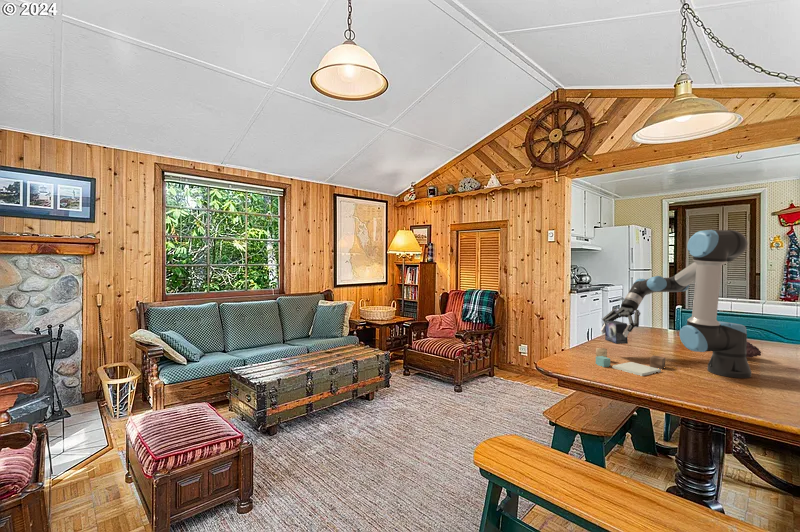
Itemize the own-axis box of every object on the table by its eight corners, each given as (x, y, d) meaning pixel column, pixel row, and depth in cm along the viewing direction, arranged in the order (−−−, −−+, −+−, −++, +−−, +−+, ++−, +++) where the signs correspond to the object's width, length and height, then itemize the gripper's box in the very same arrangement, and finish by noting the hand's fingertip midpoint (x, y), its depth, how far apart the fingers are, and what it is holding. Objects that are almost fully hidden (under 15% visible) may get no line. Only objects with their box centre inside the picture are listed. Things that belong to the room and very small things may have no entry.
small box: (604, 340, 206) (603, 320, 206) (616, 339, 206) (615, 320, 206) (615, 344, 196) (615, 323, 196) (628, 343, 196) (627, 323, 196)
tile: (660, 371, 176) (660, 369, 176) (641, 376, 170) (641, 373, 170) (631, 364, 189) (631, 361, 189) (612, 368, 183) (612, 365, 183)
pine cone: (768, 362, 190) (768, 342, 189) (750, 363, 188) (751, 343, 188) (732, 353, 207) (732, 335, 207) (716, 354, 206) (716, 336, 205)
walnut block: (665, 367, 183) (665, 357, 183) (661, 369, 180) (662, 359, 180) (653, 365, 187) (653, 355, 187) (649, 367, 184) (649, 357, 183)
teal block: (610, 366, 185) (610, 358, 185) (603, 367, 184) (603, 359, 184) (602, 364, 190) (602, 356, 190) (595, 364, 189) (595, 356, 189)
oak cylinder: (609, 361, 194) (609, 349, 194) (602, 362, 192) (602, 350, 192) (600, 359, 199) (600, 347, 199) (593, 360, 197) (593, 348, 197)
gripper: (657, 309, 197) (639, 342, 190) (613, 305, 219) (596, 334, 212) (650, 299, 195) (632, 332, 188) (607, 296, 216) (589, 326, 210)
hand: (612, 333), depth 200 cm, fingers closed on small box, 12 cm apart
